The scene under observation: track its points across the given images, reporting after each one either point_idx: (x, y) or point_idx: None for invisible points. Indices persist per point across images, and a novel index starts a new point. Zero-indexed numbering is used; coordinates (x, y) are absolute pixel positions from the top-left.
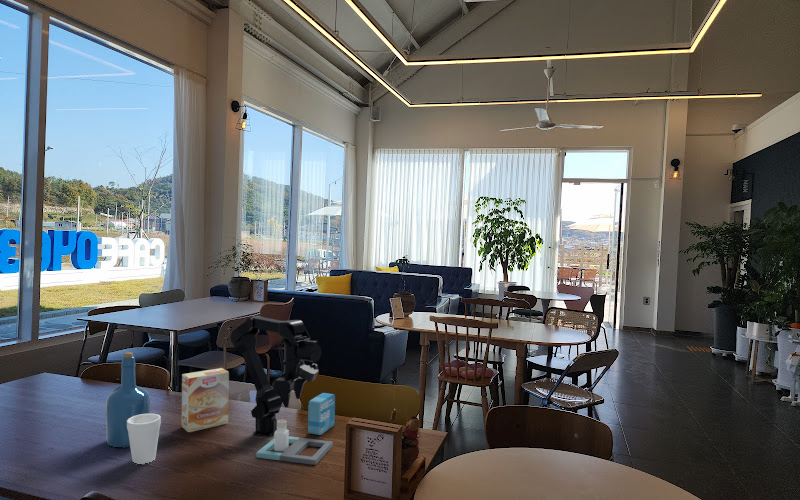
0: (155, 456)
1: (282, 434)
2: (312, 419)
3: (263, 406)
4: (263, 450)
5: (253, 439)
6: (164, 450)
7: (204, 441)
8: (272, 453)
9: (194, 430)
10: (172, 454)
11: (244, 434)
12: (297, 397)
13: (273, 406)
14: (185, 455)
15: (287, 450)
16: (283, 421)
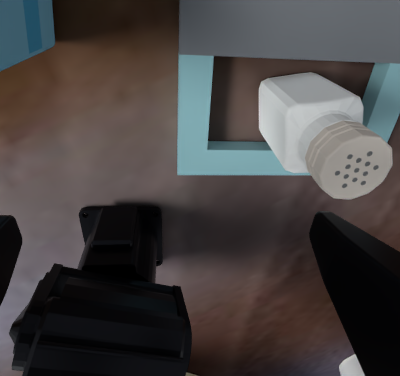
0: (357, 359)
1: (362, 115)
2: (17, 14)
3: (187, 347)
4: None
5: (202, 241)
6: (309, 361)
7: (246, 332)
8: (389, 109)
9: (187, 374)
10: (331, 343)
11: (168, 280)
12: (11, 243)
13: (142, 311)
14: (338, 323)
15: (359, 50)
16: (366, 156)
